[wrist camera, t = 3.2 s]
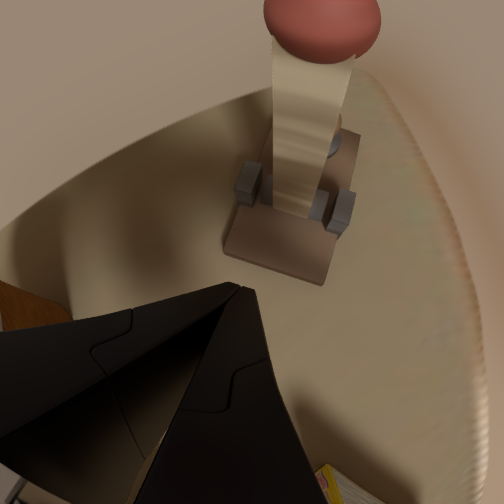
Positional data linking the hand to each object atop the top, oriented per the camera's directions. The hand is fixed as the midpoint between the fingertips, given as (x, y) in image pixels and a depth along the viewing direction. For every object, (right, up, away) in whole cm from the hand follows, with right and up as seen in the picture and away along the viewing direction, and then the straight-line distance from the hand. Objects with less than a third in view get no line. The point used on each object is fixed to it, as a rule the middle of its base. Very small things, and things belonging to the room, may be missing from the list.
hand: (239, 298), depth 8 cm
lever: (+3, +5, +13) cm, 14 cm away
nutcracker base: (+4, +6, +15) cm, 17 cm away
